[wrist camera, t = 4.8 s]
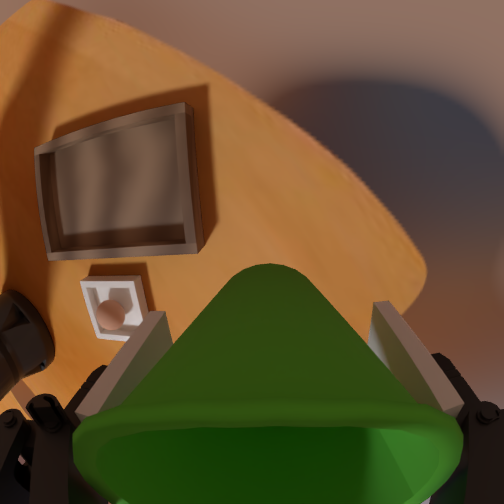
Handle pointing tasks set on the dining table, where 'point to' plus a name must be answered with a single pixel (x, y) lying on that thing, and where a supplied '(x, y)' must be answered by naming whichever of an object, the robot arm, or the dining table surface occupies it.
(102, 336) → the dish
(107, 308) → the ball
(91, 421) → the cup
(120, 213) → the tray
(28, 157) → the dining table surface
